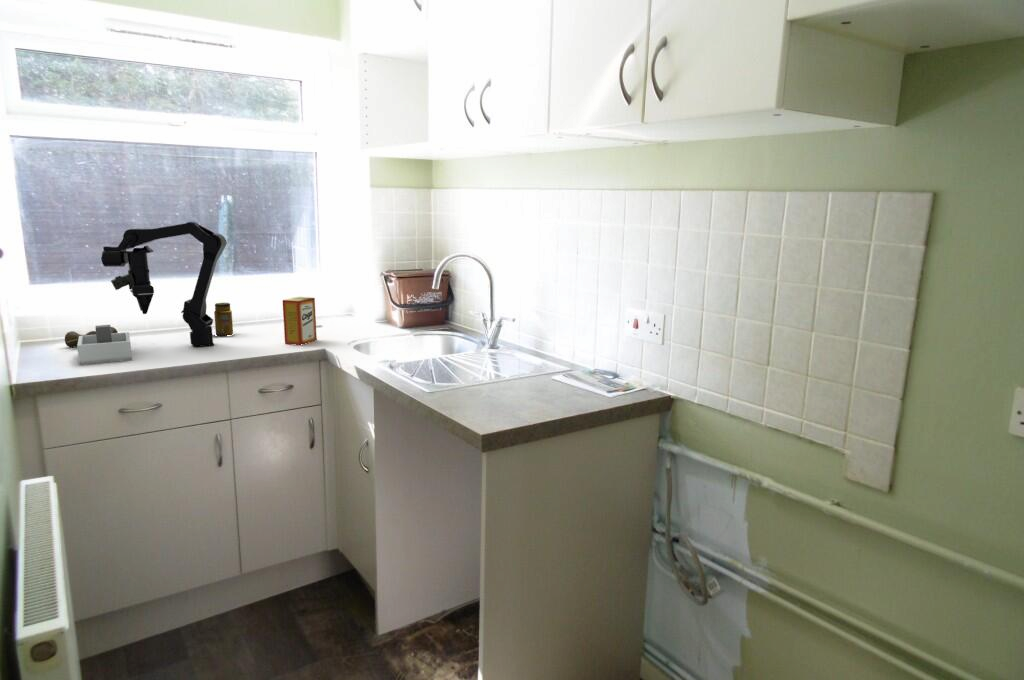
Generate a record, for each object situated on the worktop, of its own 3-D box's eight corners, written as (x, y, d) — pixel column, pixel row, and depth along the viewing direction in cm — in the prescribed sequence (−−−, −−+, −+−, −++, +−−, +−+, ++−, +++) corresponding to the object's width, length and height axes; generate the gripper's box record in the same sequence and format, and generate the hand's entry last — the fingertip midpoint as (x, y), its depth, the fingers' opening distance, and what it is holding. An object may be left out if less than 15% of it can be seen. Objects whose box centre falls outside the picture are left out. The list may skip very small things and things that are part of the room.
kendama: (125, 342, 241) (80, 351, 222) (102, 341, 243) (55, 351, 224) (123, 325, 240) (78, 333, 221) (100, 325, 242) (53, 333, 223)
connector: (113, 352, 217) (110, 324, 215) (113, 354, 214) (110, 326, 212) (98, 353, 215) (95, 325, 213) (98, 355, 212) (95, 327, 210)
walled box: (130, 349, 226) (128, 332, 225) (132, 360, 211) (130, 341, 209) (81, 353, 219) (79, 335, 218) (79, 365, 204) (77, 345, 202)
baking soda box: (300, 345, 235) (298, 300, 232) (285, 344, 237) (282, 299, 234) (316, 340, 244) (314, 296, 241) (301, 339, 246) (299, 295, 243)
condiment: (236, 333, 257) (233, 301, 255) (232, 337, 249) (229, 305, 247) (215, 333, 256) (213, 302, 253) (211, 337, 247) (208, 305, 245)
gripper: (109, 265, 230) (115, 310, 233) (112, 269, 214) (117, 318, 217) (146, 264, 236) (151, 308, 239) (151, 268, 220) (156, 315, 223)
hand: (143, 312), depth 229 cm, fingers open, 9 cm apart
